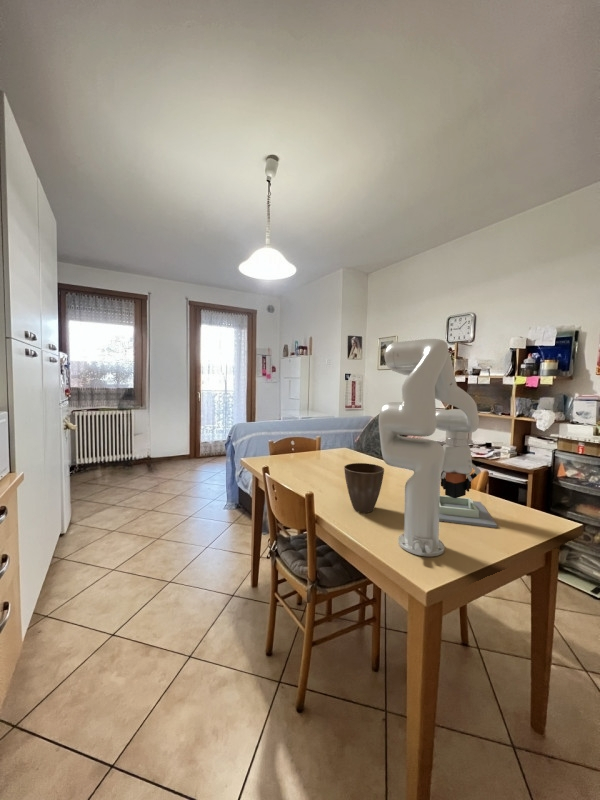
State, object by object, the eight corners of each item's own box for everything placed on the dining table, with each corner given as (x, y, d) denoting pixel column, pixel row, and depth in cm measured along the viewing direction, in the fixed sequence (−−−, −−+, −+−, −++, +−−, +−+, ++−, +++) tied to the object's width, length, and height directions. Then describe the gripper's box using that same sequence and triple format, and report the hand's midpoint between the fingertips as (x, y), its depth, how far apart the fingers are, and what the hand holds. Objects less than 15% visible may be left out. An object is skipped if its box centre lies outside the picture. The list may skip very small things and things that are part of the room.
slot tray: (497, 528, 104) (497, 517, 104) (425, 519, 111) (426, 509, 111) (480, 504, 125) (480, 495, 125) (421, 498, 132) (421, 490, 132)
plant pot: (347, 499, 130) (348, 461, 129) (385, 504, 125) (385, 464, 124) (340, 513, 116) (340, 470, 115) (381, 519, 111) (382, 474, 110)
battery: (444, 495, 118) (445, 469, 118) (455, 492, 122) (456, 466, 121) (455, 498, 114) (455, 471, 114) (466, 495, 118) (467, 469, 117)
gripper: (480, 442, 118) (479, 488, 119) (430, 439, 123) (429, 484, 124) (485, 445, 111) (484, 495, 112) (432, 443, 116) (431, 490, 117)
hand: (455, 489), depth 118 cm, fingers closed on battery, 7 cm apart
